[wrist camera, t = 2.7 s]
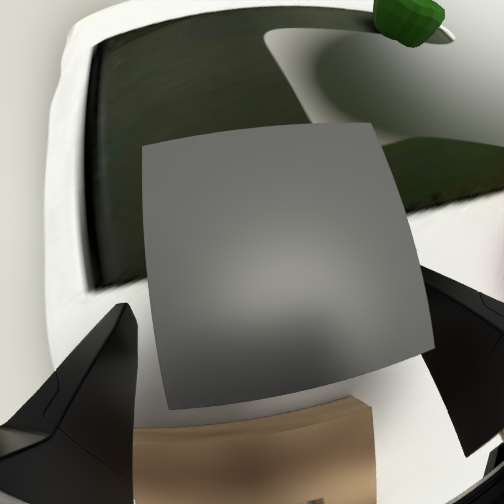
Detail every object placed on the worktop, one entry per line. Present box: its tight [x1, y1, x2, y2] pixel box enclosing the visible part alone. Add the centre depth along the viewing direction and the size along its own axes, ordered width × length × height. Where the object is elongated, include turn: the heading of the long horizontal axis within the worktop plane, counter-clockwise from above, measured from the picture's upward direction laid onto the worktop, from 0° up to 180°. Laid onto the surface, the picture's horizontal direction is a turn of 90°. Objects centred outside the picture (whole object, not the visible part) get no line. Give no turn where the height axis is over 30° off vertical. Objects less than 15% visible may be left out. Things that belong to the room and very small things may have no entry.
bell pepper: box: [373, 0, 445, 48], centre depth 21 cm, size 8×8×10 cm
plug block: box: [142, 123, 435, 410], centre depth 11 cm, size 4×4×13 cm
